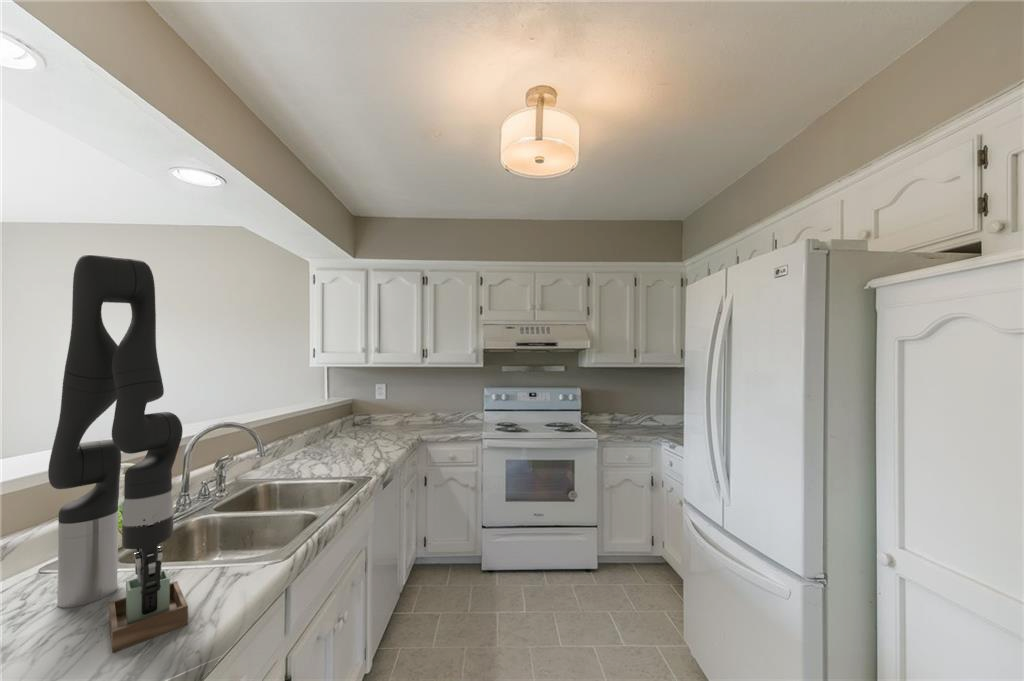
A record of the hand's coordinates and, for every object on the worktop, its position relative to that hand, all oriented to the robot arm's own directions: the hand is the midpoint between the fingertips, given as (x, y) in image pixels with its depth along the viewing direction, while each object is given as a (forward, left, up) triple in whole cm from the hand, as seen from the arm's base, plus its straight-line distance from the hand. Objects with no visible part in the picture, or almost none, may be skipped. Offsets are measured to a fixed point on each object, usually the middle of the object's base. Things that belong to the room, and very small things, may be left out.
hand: (148, 606), depth 81 cm
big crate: (0, 0, -3) cm, 3 cm away
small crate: (0, 0, -1) cm, 1 cm away
